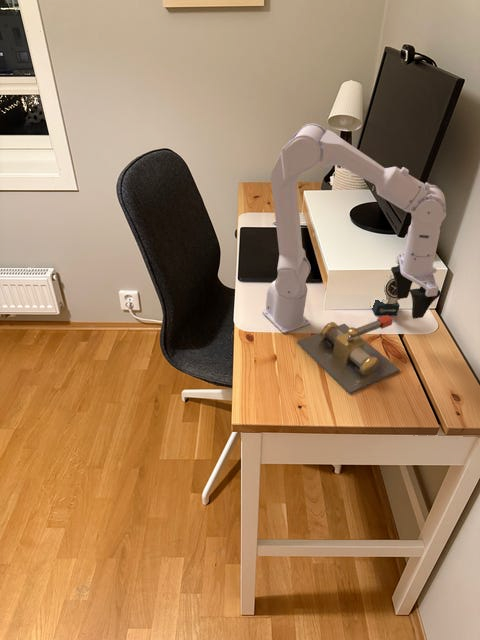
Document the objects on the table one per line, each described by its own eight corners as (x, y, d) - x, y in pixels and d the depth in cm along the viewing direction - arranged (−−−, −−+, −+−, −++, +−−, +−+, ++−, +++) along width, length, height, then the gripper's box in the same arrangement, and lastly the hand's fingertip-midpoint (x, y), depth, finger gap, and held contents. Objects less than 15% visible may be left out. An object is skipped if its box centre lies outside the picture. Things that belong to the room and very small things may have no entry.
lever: (350, 343, 96) (352, 334, 94) (344, 338, 97) (346, 329, 96) (391, 327, 101) (394, 318, 99) (384, 322, 102) (387, 313, 101)
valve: (296, 342, 103) (299, 326, 100) (344, 325, 109) (347, 309, 106) (349, 394, 91) (354, 377, 88) (399, 371, 97) (405, 354, 94)
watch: (377, 320, 111) (387, 282, 104) (368, 301, 118) (377, 264, 111) (399, 320, 112) (411, 282, 105) (389, 301, 118) (400, 265, 111)
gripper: (458, 265, 84) (444, 324, 92) (422, 232, 96) (412, 287, 104) (422, 269, 84) (411, 328, 91) (390, 236, 95) (382, 291, 103)
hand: (409, 307), depth 98 cm, fingers open, 7 cm apart
